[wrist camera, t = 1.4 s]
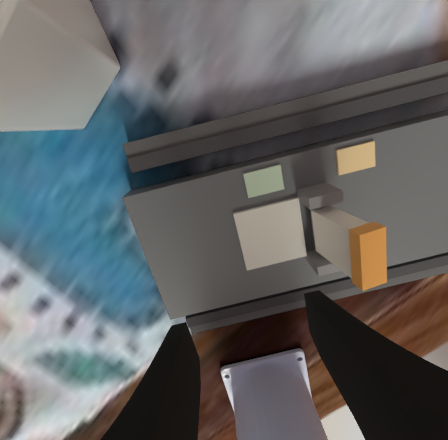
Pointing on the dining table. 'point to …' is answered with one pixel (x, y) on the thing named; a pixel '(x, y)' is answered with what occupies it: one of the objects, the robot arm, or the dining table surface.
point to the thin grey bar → (296, 296)
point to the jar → (52, 64)
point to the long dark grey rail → (288, 117)
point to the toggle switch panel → (291, 214)
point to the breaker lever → (351, 245)
